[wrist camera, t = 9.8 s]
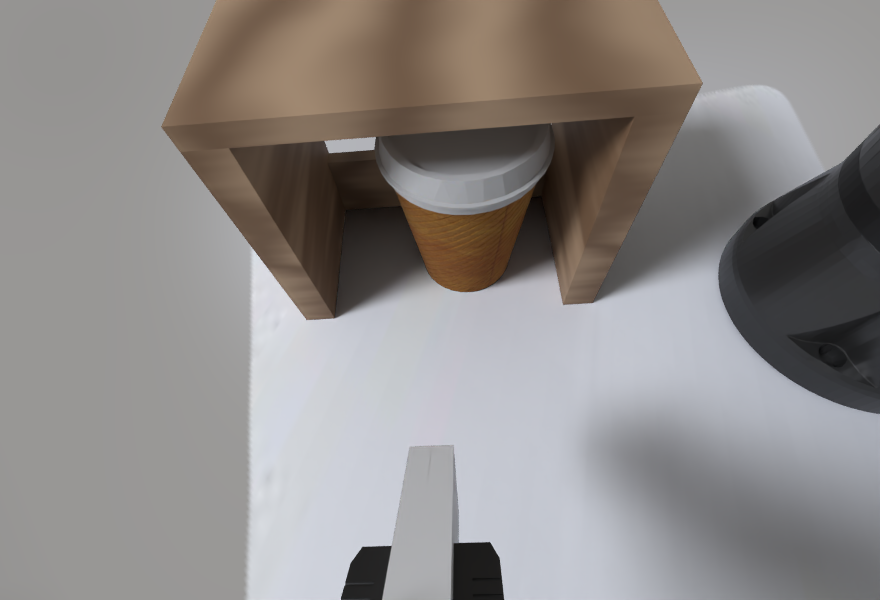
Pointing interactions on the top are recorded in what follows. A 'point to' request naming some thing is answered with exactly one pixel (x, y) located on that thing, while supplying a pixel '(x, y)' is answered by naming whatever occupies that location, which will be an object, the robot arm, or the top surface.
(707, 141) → the top surface
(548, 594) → the top surface
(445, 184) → the disposable coffee cup
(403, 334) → the top surface
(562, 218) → the walnut shelf
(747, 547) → the top surface
